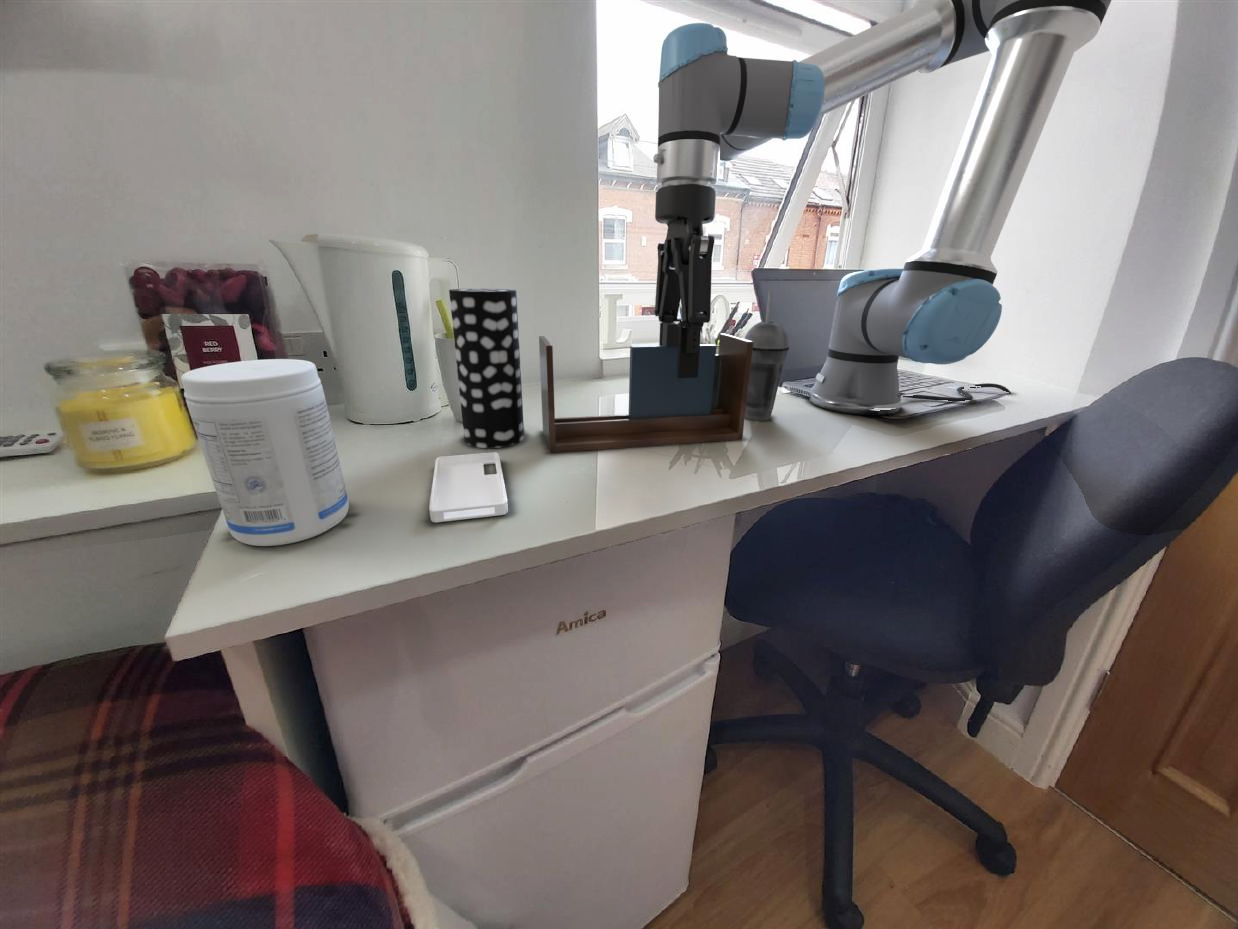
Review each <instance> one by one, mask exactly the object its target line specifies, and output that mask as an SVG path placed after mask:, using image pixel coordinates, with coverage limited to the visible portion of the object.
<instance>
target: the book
mask: <svg viewBox="0 0 1238 929" xmlns="http://www.w3.org/2000/svg"><path fill="white" fill-rule="evenodd" d="M678 341H679V327H678V326H677V323H675V322H674V323H663V330H662V345H659V344H657V345H656V344H655V345H630V346H629V378H628V379H629V382H628V383H629V384H628V414H629V418H628V419H639V418H657V417H675V416H693V415H711V404H712V393H713V381H714V370H715V359H716V354H717V345H716V344H714V343H712V344H711V343H710V344H709V343H708V344H707V343H706V344H700V350H699V366H698V378H677V362H678Z"/></svg>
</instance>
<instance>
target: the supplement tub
mask: <svg viewBox="0 0 1238 929" xmlns="http://www.w3.org/2000/svg"><path fill="white" fill-rule="evenodd" d="M180 380H181V384H182V386H183V387H182V388H183V390H184V392H183V397H184V398H185V403H186V406H187V408H188V412H189V416H190V418H191V421H192V424H193V427H194V430H195V433H196V437H197V439H198V442H199V445H200V448H201V451H202V454H203V457H204V460H205V463H206V466H207V469H208V472H209V475H210V478H211V481H212V484H213V487H214V489H215V494H216V496H217V498H218V501H219V505H220V507H221V510H222V514H223V516H224V519H225V522H226V524H227V527H228V530H229V533H230V535H231V536H232V537H233V539H235V540H236V541H238V542H239V543H243V544H245V545H249V546H256V547H274V546H283V545H289V544H293V543H299V542H303V541H306V540H309V539H311V538H312V539H313V538H314V537H316V536H319V535H321V534H323V533H325V532H327V531H329V530H330V529H332V528H333V527H335V526H337V525H338V524H340V522H342V520H343V519H345V517H346V516H347V514H348V513H349V509H350V502H349V498H348V492H347V488H346V483H345V480H344V475H343V471H342V470H343V469H342V467H341V462H340V458H339V453H338V448H337V444H336V439H335V435H334V431H333V425H332V423H331V422H332V421H331V418H330V413H329V409H328V404H327V398H326V396H325V391H324V387H323V384H322V383H321V382H322V380H321V378H320V376H319V373H318V369H317V366H316V364H315V363H313V362H312V361H309V360H304V359H294V358H293V359H292V358H272V359H271V358H268V359H253V360H251V359H250V360H240V361H233V362H227V363H226V362H225V363H218V364H212V365H207V366H203V367H199V368H195V369H192V370H188V371H186V372H185V373H183V374H181V376H180Z"/></svg>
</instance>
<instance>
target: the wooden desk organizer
mask: <svg viewBox="0 0 1238 929" xmlns="http://www.w3.org/2000/svg"><path fill="white" fill-rule="evenodd" d="M538 345H539V346H538V348H539V370H540V371H539V372H540V373H539V374H540V397H541V417H542V418H541V419H542V422H541V423H542V434H543V436H544V440H545V443H546V445H547V448H548V451H549V453H550V454H554V453H555V454H556V453H569V452H582V451H583V452H585V451H596V450H598V451H599V450H612V449H626V448H638V447H639V448H640V447H654V446H655V447H656V446H670V445H681V444H698V443H713V442H724V441H725V442H726V441H740V440H743V436H744V429H745V428H744V427H745V419H746V418H745V411H746V402H747V394H748V385H749V376H750V367H751V359H752V350H753V341H749V340H746V339H745V338H742V337H738V336H734V335H731V334H728V333H720V334H719V341H718V352H717V353H716V359H715V370H714V381H713V393H712V404H711V415H693V416H675V417H657V418H639V419H628V418H629V413H627V414H625V413H624V414H607V415H589V416H571V417H556V408H555V380H554V379H555V377H554V350H553V349H554V348H553V344H552V343H551V342H550V341H549V340H548V338H546V336H545V335H538Z"/></svg>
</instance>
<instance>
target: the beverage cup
mask: <svg viewBox="0 0 1238 929" xmlns="http://www.w3.org/2000/svg"><path fill="white" fill-rule="evenodd" d="M772 293H773V291H772V290H769V291H768V294H767V304H766V315H765V321H759V322H757V323H755V324H753V326H751V327H750V328H749V330H748V331H747V332H746V334H745V336H744V339H746V340H749V341H753V350H752V359H751V367H750V376H749V385H748V394H747V402H746V411H745V419H747V420H751V421H758V422H762V421H763V422H764V421H769V420H770V419H771V416H772V412H773V410H774V406H775V401H776V398H777V393H778V389H779V384H780V381H781V375H782V371H783V367H784V363H785V361H786V358H787V356H788V351H789V350H790V347H789V337H788V334H787V332H786V330H785V328H784V327H783V326H782V325H781V324H779V323H778V322H776V321H770V316H771V306H772V305H771V304H772V295H773V294H772Z"/></svg>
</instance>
